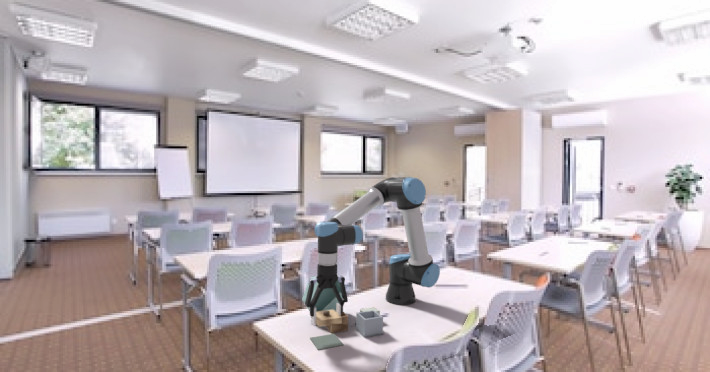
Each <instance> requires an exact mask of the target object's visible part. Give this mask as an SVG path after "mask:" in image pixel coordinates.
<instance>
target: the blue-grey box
mask: <svg viewBox="0 0 710 372" xmlns="http://www.w3.org/2000/svg"><path fill="white" fill-rule="evenodd" d="M355 314H356V315H355V316H356V320H355V326H356V328H355V331H357V332H358V333H359V334H360V335H361V336H362V337H363V338H369V337H374V336H381V335H384V333H383V331H384V330H383V329H384V325H383V324H384V317H383V316H382V315H381V313H380V314H378V313H377V312H376V311H374V310H371V311H365V312H360V311H359V312H356V313H355Z"/></svg>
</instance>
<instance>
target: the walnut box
mask: <svg viewBox="0 0 710 372" xmlns="http://www.w3.org/2000/svg"><path fill="white" fill-rule="evenodd" d="M341 317H342V323H341V324H334V325H328V326H325V328H327V330H328V331H329V333H330V334H335V333H336V334H337V333H341V332H346V331H349V315H348V314H347V313H345V312H344V311H343V312H341Z"/></svg>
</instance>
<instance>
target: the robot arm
mask: <svg viewBox="0 0 710 372" xmlns="http://www.w3.org/2000/svg"><path fill="white" fill-rule="evenodd" d="M426 195H427V191H426V186H425V184H424V182H423V181H422V180H420V179H419V178H417V177H412V176H411V177H410V176H409V177H406V176H404V177H401V176H399V177H395V176H394V177H393V176H392V177H388V178H385V179H382V180H380V181H378V182H377V183H376V184H374V185H372V186H371V187H370V188H368V190H367V193H365V194H364V195H362V196H361V197H359V198H358V199H357V200H355V201H354V202H353V203H351V204H350V205H348V206H346V207H345V208H344V209H343V210H341V211H339V212H338V213H337V214H336V215H334V216H333V217H331V218H330V219H328V220H327V221H325V220H324V221H319V222H317V223H316V224H315V227H314V235H315V237H317V266H316V269H317V270H316V271H317V272H316V274H317V275H316V276H317V277H316V279H310V278H309V279H308V281H309V288H308V292H307V297H306V301H305V304H304V305H305V306H307V307H310V311H309V316H310V317H312V318H311V324H312V325H313V327H316V326H317V324H316V307H315V305H316V303H317V301H318V299H319V296H320V294H321V292H322V291H323V289H327V288H332V290H333V292H334V294H335V296H336V298H337V300H338V302H339V303H336V312H337V313H338V314H339V315H340V316H341V312H344V305H345V303H348V302H349V301H348V300H349V299H348V293H347V294H346V292H347V289H346V284H345V283H346V279H345V277H344V276H343V275H340V276H338V264H337V263H338V250H339V247H344V246H351V245H352V246H353V245H357V244H359V243H361V242H362V241H363V238H364V237H363V236H364V232H363V229H362V228H361V226H359V225H356V224H354V223H356V222H357V221H359V220H360V219H361V218H363V217H364V216H365V215H366V214H368V213H369V212H371V211H372V210H373V209H375V208H376V207H377V206H378V207H379V206H380V207H381V206H383V205H384V204H386V203H390V202H391V203H393V202H394V203H396V207H397V210H399V211H400V212H401V215H402V221H403V225H404V231H405V235H406V241H407V247H408V250H409V254H408V253H403V254H401V253H400V254H393V255H390V258H389V270H388V271H389V274H388V275H389V279H388V281H389V282H388V283H389V284H388V288H387V290H386V292H385V301H386V302H388V303H391V304H393V305H401V306H402V305H411V304H414V303H415V302H416V294H415V290H414V286H413V284H414V285H417V286H420V287H423V288H432V287H434V286H436V284H437V282H438V280H439V278H440V274H441V270H440V266H439V265H438V264H437V263H434V260H433V256H432V255H431V254H430V253H429V251H428V246H427V245H428V244H427V240H426V234H425V229H424V228H425V227H424V224H423V223H424V221H423V218H422V213H421V212H422V211H421V207H422V206H423V202H425V199H426ZM353 224H354V225H353ZM337 280H338V281H339V284H340V289H341V294H342V298H343V299H342V298H341V296H340V294H339V292H338V290H337V287H336V285H335V283H336V282H337ZM316 282H317V283H318V287H317V290H316V292H315V294H314V296H313V298H312V294H313V290H314V285H315V284H316ZM311 299H312V300H311ZM307 307H306V308H307Z"/></svg>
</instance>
